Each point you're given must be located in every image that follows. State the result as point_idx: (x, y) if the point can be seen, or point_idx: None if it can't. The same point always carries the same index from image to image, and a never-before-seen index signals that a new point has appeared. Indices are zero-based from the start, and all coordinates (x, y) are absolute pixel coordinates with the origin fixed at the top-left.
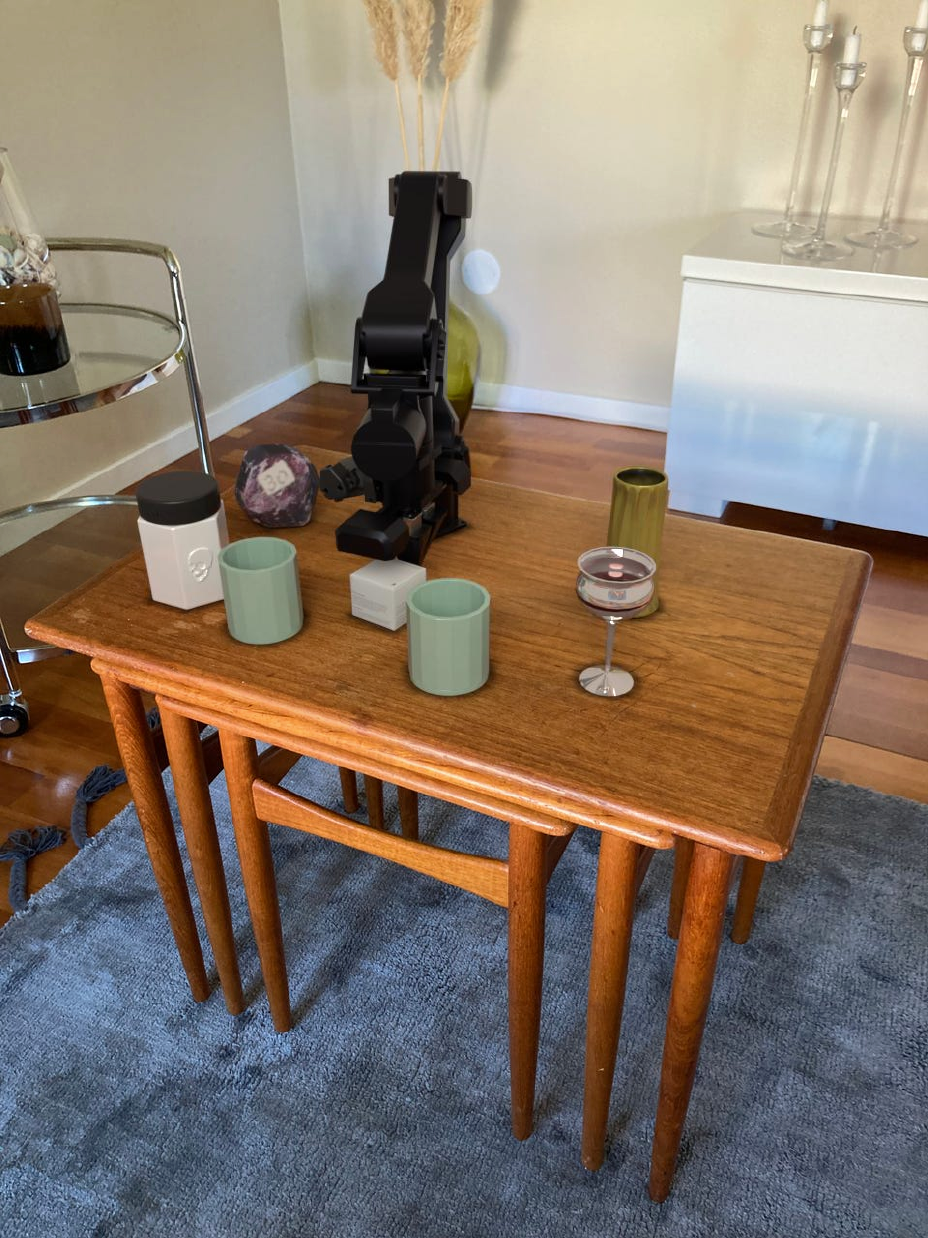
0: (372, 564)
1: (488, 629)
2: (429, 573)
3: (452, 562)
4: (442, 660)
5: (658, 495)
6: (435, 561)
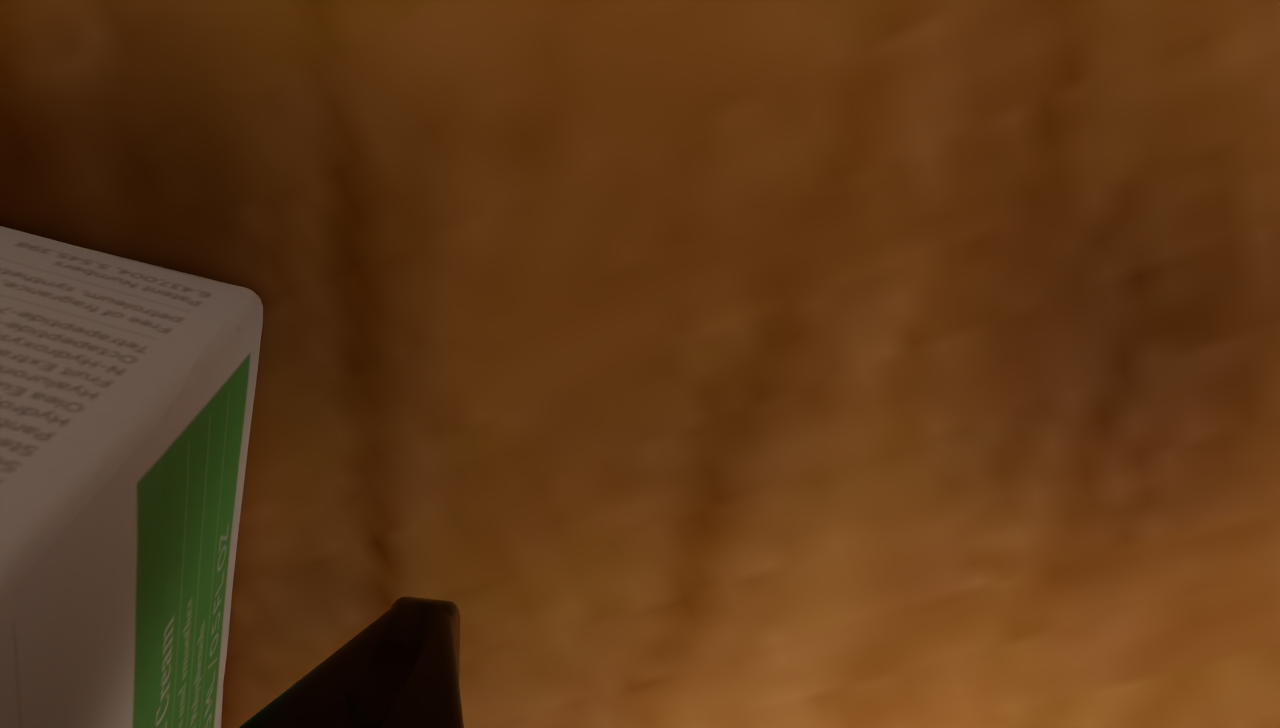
0: None
1: None
2: (944, 552)
3: (1258, 680)
4: None
5: None
6: (1264, 520)
